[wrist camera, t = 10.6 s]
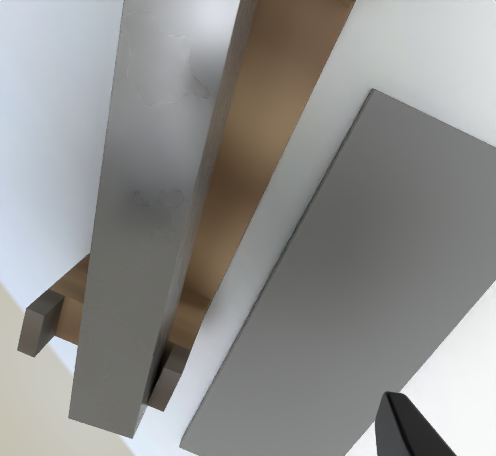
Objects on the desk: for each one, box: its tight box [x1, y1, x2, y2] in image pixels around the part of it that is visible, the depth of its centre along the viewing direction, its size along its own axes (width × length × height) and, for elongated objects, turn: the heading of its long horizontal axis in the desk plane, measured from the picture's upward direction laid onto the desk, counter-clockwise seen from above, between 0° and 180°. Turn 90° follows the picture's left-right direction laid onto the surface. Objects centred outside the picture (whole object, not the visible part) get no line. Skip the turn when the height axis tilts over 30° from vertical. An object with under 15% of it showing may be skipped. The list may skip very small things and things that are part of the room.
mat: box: [179, 89, 496, 456], centre depth 22 cm, size 10×26×1 cm, turn 156°
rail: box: [68, 0, 258, 439], centre depth 13 cm, size 22×3×3 cm, turn 163°
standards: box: [17, 0, 356, 412], centre depth 15 cm, size 22×7×6 cm, turn 156°
